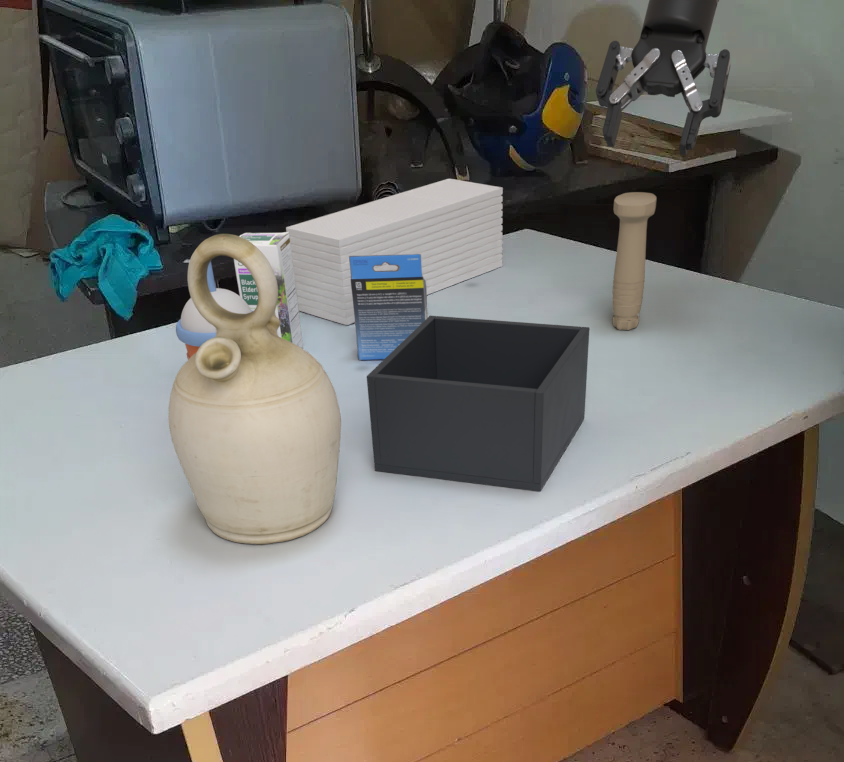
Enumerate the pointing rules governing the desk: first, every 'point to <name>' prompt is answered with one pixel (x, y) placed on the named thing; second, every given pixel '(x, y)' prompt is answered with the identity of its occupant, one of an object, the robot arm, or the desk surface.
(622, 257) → the handle
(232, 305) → the cup with straw
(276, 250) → the syrup box
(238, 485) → the jug
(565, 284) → the desk surface
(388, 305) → the tape cartridge
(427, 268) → the white rectangular block
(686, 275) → the desk surface
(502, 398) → the bin
